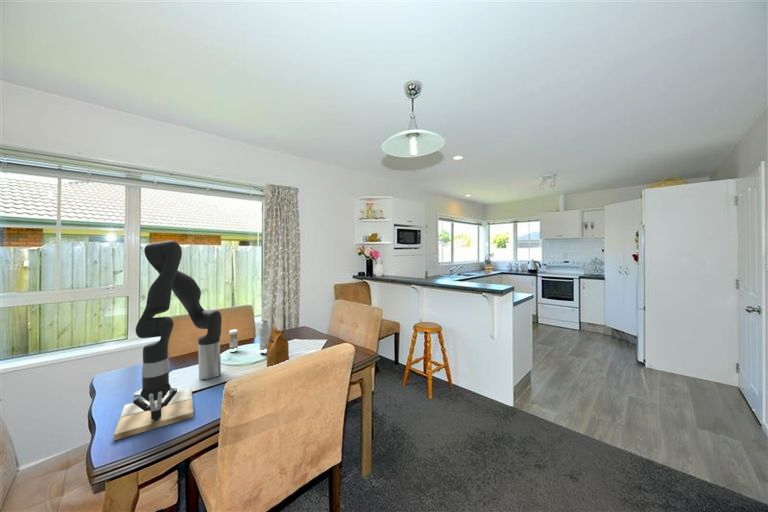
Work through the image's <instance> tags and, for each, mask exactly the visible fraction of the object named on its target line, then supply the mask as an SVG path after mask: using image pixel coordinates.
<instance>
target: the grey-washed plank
mask: <svg viewBox="0 0 768 512" xmlns="http://www.w3.org/2000/svg"><path fill="white" fill-rule="evenodd" d="M192 391H193V390H192V388H189V389H188V388H187V389H185V390H180V391H179V390H178V391H177V393H176V394H175V396H174V397H173V398H172V399H171V401H170V402H169V403H168V404H167V405H171V404H174V403H178V402H182V401H186V400H190V399H192V400H193V392H192ZM168 396H169V393H167V394H166V395H165V397H164V398H162V402H164V401H165V399H166V398H167V397H168ZM142 401H143V402H145V403H146V404H148V405H149V406H150V402H148V401H147V400H145V399H144V400H142ZM155 406H156V408H157V400H155ZM140 412H144V410H142V409H141V408H139V407H138V406H137V405H135V404H134V403H133V402H131V403H126V404H124V406H123V408H122V411H121V413H120V417H119V419H120V418H121V417H125V416H129V415H133V414H136V413H140Z"/></svg>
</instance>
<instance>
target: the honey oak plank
mask: <svg viewBox="0 0 768 512" xmlns="http://www.w3.org/2000/svg"><path fill="white" fill-rule="evenodd" d="M193 403H194V402H193V398H192V399H190V400H186V401H182V402H178V403H174V404H171V405H167V406H165V407H162V409H161V418H159V420H156V421H154V419H153V420H152V419H151V411H144V412H140V413H136V414H133V415H129V416H125V417H121V416H120V417H121V418H120V417H119V420H118V423H117V424H116V425H117V426H116V428H115V431H114V433H113V441H117V440H120V439H124V438H127V437H131V436H135V435H138V434H141V433H144V432H147V431H152V430H154V429H158V428H161V427H164V426H168V425H170V424H175V423H179V422H182V421H185V420H189V419H192V418H194V404H193ZM156 409H157V408H156Z"/></svg>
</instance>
